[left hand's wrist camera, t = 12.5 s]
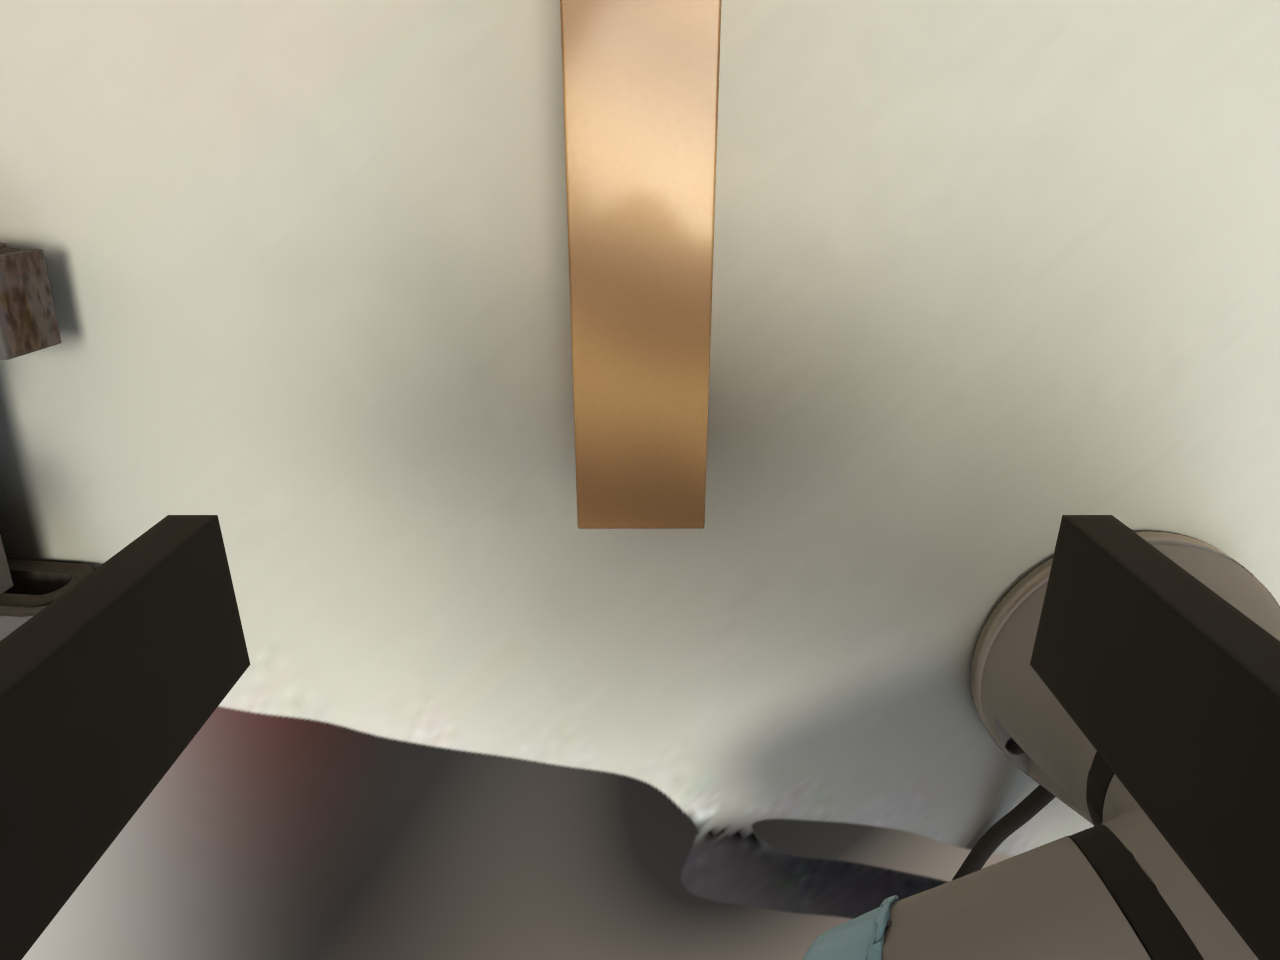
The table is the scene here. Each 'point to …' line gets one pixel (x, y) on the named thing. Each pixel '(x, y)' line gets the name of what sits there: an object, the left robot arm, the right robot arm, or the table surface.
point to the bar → (640, 253)
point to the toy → (4, 329)
